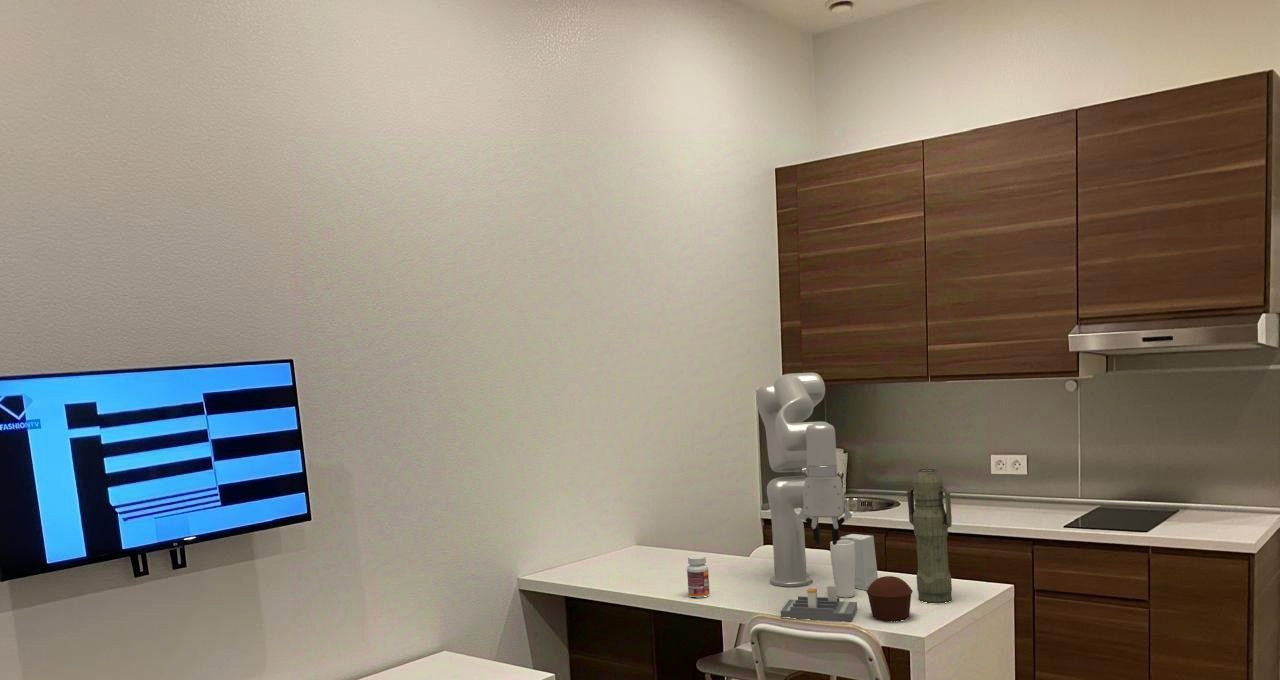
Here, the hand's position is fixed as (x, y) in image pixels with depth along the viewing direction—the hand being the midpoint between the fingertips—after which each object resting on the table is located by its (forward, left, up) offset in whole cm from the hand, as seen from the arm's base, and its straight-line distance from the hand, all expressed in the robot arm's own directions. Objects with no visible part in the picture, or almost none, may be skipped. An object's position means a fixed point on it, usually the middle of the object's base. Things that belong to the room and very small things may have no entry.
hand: (826, 542), depth 235 cm
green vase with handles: (-22, +25, -19) cm, 39 cm away
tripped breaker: (0, -5, -17) cm, 18 cm away
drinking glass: (-23, +1, -19) cm, 31 cm away
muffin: (-3, +15, -20) cm, 25 cm away
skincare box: (-34, +4, -19) cm, 40 cm away
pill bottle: (-17, -40, -19) cm, 48 cm away
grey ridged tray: (-3, -3, -19) cm, 20 cm away
